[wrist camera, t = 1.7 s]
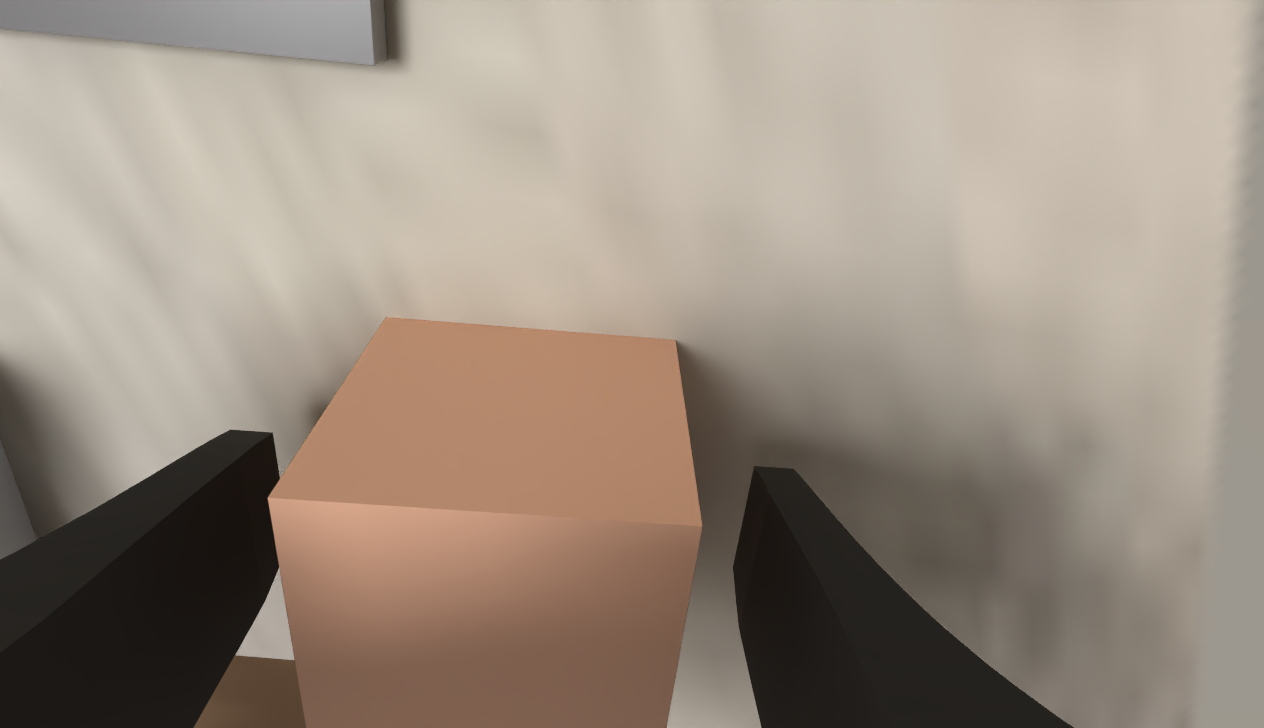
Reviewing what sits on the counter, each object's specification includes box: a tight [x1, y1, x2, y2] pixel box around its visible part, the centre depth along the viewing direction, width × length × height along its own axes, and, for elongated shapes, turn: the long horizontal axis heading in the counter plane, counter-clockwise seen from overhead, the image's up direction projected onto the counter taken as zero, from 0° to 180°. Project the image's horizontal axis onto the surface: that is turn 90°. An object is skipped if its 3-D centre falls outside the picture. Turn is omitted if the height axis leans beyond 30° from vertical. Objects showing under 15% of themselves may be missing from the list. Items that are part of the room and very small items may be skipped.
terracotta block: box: [268, 317, 702, 728], centre depth 11 cm, size 4×4×4 cm
